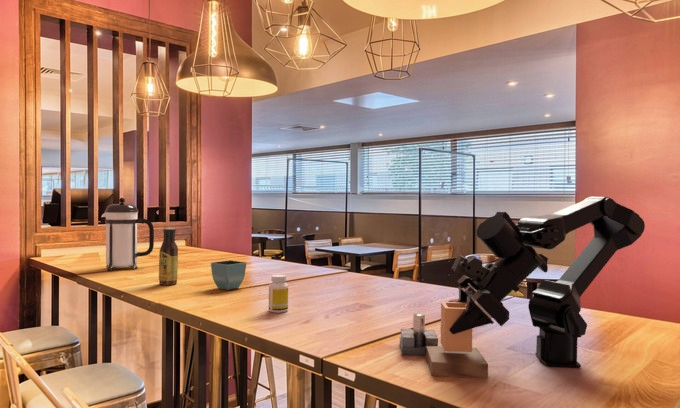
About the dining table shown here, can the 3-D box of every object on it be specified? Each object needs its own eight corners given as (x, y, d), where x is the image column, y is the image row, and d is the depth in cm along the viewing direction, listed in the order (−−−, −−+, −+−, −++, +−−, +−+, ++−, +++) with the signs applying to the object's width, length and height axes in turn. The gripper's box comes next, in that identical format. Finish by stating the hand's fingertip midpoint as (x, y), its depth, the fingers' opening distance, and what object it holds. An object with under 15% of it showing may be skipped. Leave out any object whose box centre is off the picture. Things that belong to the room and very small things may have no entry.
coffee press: (123, 272, 188) (123, 198, 187) (93, 269, 193) (93, 197, 193) (154, 266, 204) (155, 198, 203) (126, 264, 209) (126, 197, 209)
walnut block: (476, 360, 93) (477, 347, 93) (487, 377, 84) (488, 364, 84) (426, 358, 94) (426, 346, 94) (431, 375, 85) (431, 362, 85)
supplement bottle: (292, 310, 130) (292, 275, 130) (276, 314, 126) (277, 278, 126) (279, 307, 134) (279, 273, 134) (264, 310, 130) (264, 275, 130)
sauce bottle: (156, 283, 166) (156, 228, 165) (173, 281, 170) (173, 227, 169) (163, 286, 161) (163, 229, 160) (180, 284, 165) (181, 228, 165)
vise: (434, 345, 102) (435, 311, 102) (439, 356, 95) (439, 319, 95) (399, 343, 102) (400, 310, 102) (401, 354, 95) (402, 318, 95)
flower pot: (229, 284, 166) (230, 259, 166) (247, 288, 161) (247, 262, 160) (209, 288, 159) (209, 262, 158) (227, 292, 154) (227, 265, 153)
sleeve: (466, 343, 91) (467, 302, 91) (472, 352, 86) (472, 308, 86) (440, 342, 91) (441, 302, 91) (444, 351, 86) (445, 308, 86)
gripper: (468, 236, 97) (414, 287, 98) (491, 246, 79) (424, 309, 80) (506, 274, 97) (451, 326, 98) (538, 294, 78) (470, 357, 79)
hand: (448, 328), depth 89 cm, fingers closed on sleeve, 5 cm apart
